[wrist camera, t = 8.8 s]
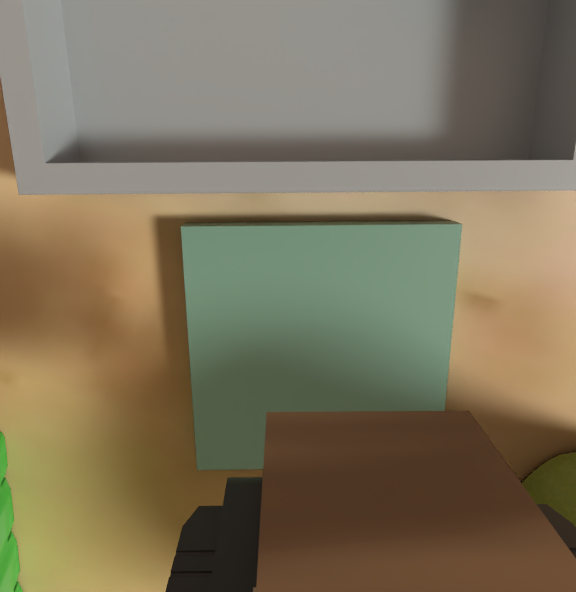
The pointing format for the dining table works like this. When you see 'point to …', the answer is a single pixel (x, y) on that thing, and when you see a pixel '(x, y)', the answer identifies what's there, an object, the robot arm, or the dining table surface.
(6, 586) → the fruit basket
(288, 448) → the walnut box
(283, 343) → the coaster
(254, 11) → the bin
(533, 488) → the plant pot
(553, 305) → the dining table surface
